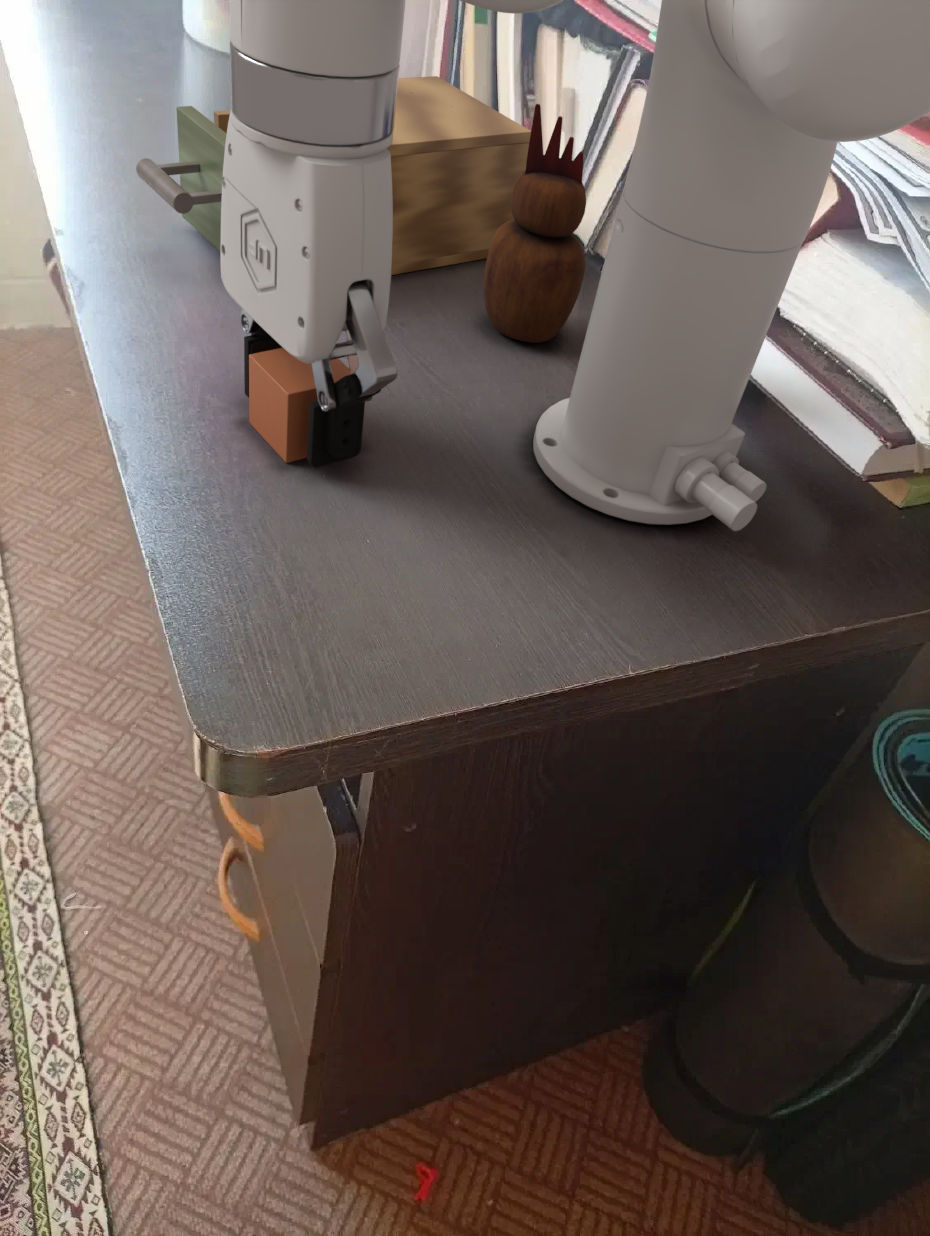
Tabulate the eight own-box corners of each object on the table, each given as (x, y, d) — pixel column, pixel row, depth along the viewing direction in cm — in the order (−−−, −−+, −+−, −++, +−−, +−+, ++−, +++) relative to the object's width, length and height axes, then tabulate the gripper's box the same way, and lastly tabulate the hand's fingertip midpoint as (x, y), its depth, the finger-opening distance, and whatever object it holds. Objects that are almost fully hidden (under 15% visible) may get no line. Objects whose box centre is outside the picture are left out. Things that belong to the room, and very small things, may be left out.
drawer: (195, 292, 66) (189, 174, 60) (126, 223, 72) (115, 109, 66) (412, 256, 75) (424, 150, 69) (335, 197, 81) (341, 96, 75)
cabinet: (358, 281, 72) (368, 146, 66) (276, 212, 79) (278, 83, 72) (509, 254, 80) (532, 131, 73) (423, 194, 86) (436, 75, 80)
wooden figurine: (463, 329, 69) (498, 103, 59) (497, 301, 73) (536, 85, 63) (548, 362, 68) (600, 136, 57) (579, 332, 72) (633, 115, 61)
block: (354, 445, 57) (359, 377, 54) (286, 463, 55) (287, 394, 52) (315, 406, 60) (318, 339, 57) (248, 422, 57) (248, 354, 54)
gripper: (156, 38, 47) (176, 365, 59) (342, 176, 38) (320, 528, 50) (293, 35, 51) (285, 343, 63) (491, 160, 42) (437, 491, 54)
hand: (301, 423), depth 57 cm, fingers open, 6 cm apart
